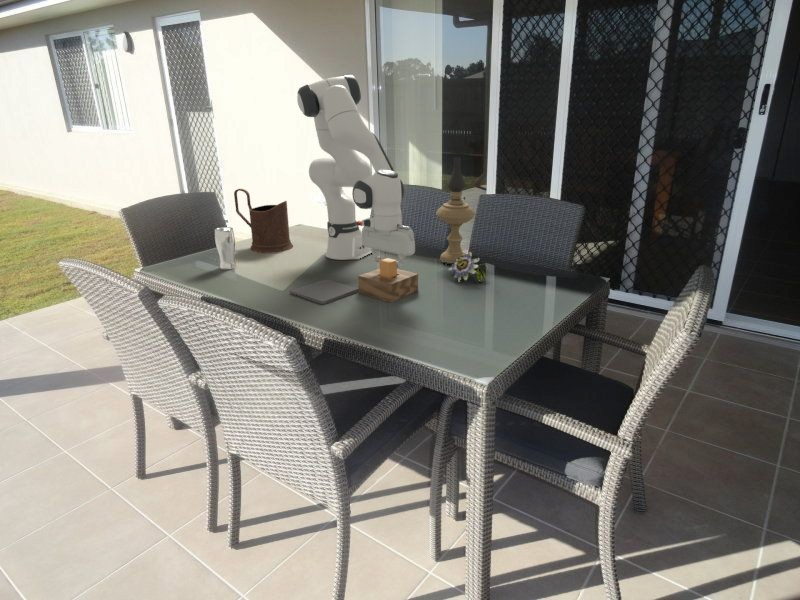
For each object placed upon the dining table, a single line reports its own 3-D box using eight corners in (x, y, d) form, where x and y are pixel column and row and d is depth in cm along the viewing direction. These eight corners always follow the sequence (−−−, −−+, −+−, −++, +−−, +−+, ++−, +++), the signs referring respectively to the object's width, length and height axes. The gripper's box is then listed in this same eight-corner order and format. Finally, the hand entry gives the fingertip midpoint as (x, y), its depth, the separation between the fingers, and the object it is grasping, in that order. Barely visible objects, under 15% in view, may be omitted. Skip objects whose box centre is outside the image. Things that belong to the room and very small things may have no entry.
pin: (388, 286, 180) (387, 258, 177) (397, 289, 178) (396, 260, 174) (380, 289, 177) (379, 260, 174) (389, 292, 175) (388, 262, 172)
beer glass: (240, 265, 208) (236, 227, 203) (233, 270, 202) (229, 231, 196) (223, 264, 209) (218, 226, 204) (215, 269, 202) (210, 230, 197)
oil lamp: (479, 264, 208) (485, 158, 194) (445, 268, 203) (448, 160, 189) (461, 254, 221) (465, 154, 207) (428, 258, 216) (430, 156, 202)
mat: (326, 281, 188) (325, 279, 188) (358, 291, 179) (358, 288, 178) (290, 293, 177) (290, 290, 177) (323, 304, 167) (322, 301, 167)
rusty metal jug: (283, 254, 223) (278, 193, 214) (230, 251, 228) (223, 192, 219) (299, 243, 240) (295, 187, 231) (250, 240, 245) (244, 185, 236)
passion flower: (459, 296, 190) (440, 268, 189) (474, 283, 198) (456, 255, 197) (481, 285, 182) (462, 255, 181) (496, 271, 189) (478, 243, 188)
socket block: (386, 282, 188) (386, 266, 185) (418, 291, 179) (418, 273, 177) (358, 292, 178) (358, 275, 175) (390, 302, 169) (390, 284, 167)
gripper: (419, 225, 166) (419, 268, 171) (371, 216, 178) (372, 256, 183) (406, 229, 162) (406, 272, 166) (358, 220, 174) (359, 260, 179)
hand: (388, 264), depth 175 cm, fingers open, 8 cm apart
